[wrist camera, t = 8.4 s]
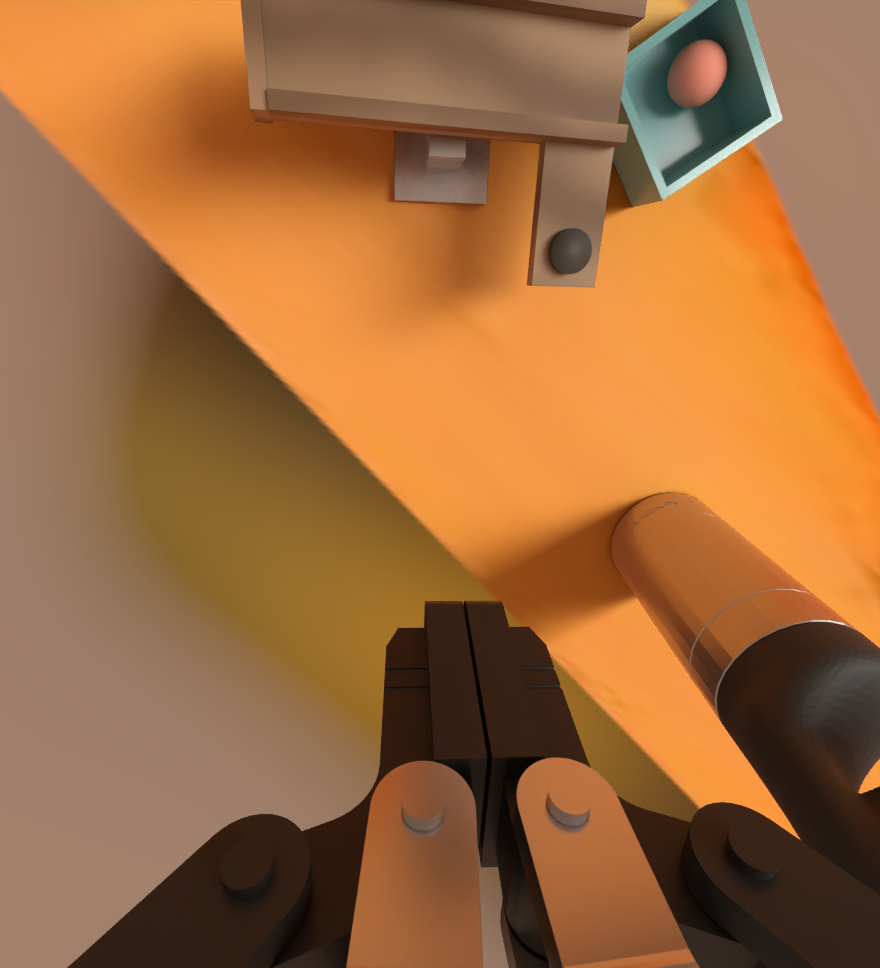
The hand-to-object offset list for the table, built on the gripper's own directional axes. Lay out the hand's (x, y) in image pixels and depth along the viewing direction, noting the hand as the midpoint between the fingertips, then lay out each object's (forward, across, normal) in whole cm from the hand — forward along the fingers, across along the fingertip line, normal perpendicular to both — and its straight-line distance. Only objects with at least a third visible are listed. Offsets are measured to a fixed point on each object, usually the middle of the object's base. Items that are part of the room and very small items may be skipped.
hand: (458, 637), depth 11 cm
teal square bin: (+31, -15, -16) cm, 38 cm away
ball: (+29, -16, -18) cm, 37 cm away
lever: (+25, -1, -12) cm, 28 cm away
